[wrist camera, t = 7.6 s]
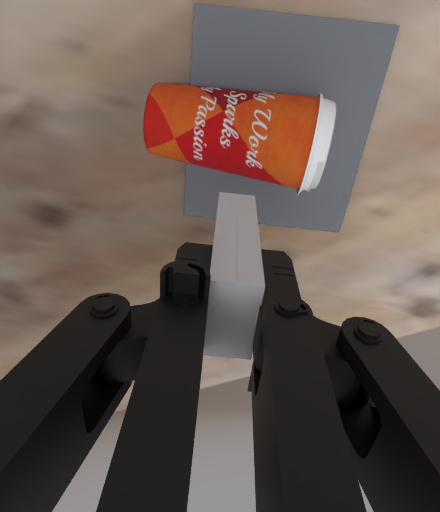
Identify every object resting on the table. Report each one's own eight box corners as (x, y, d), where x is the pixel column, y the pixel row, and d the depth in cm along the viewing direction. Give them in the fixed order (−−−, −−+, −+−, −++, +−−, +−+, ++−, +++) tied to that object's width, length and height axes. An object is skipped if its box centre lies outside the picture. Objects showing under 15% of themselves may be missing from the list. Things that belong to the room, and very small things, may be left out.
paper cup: (153, 45, 27) (345, 73, 26) (173, 100, 35) (322, 124, 33) (129, 146, 26) (326, 180, 25) (155, 179, 34) (307, 207, 33)
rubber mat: (184, 213, 38) (183, 215, 38) (194, 3, 29) (194, 3, 28) (338, 230, 38) (339, 232, 38) (397, 25, 29) (399, 25, 28)
